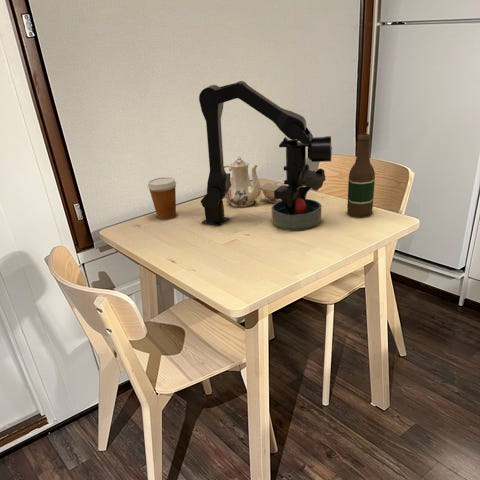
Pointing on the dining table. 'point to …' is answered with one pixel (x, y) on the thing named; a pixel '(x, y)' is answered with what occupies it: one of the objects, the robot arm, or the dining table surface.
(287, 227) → the bowl
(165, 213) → the disposable coffee cup
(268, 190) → the chinaware
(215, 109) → the robot arm
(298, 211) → the apple
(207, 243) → the dining table surface
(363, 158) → the beer bottle
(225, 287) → the dining table surface
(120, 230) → the dining table surface
